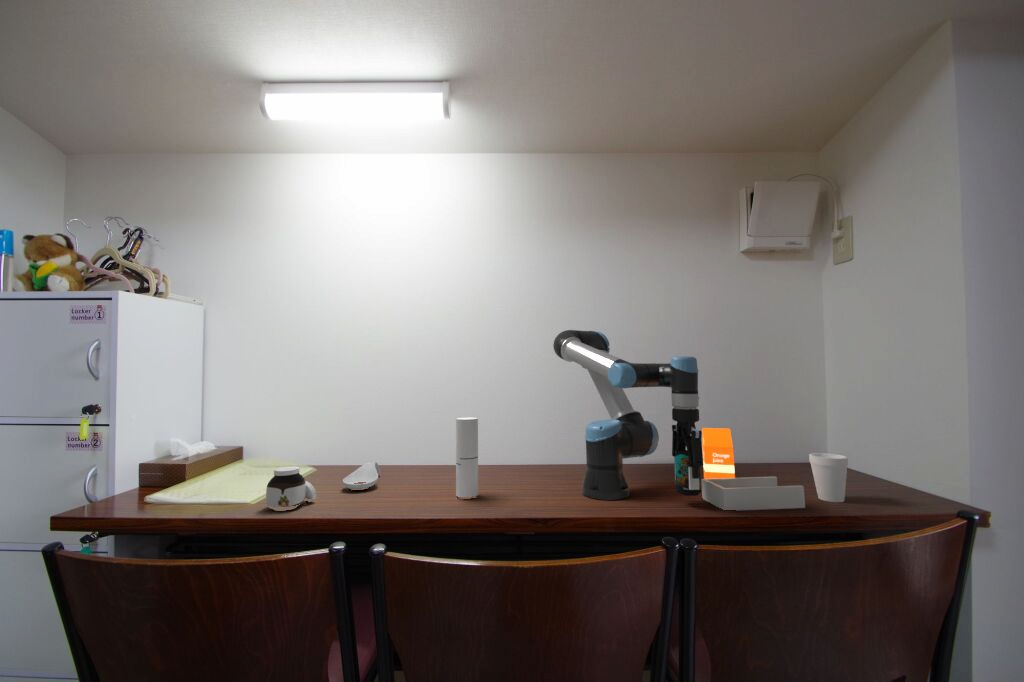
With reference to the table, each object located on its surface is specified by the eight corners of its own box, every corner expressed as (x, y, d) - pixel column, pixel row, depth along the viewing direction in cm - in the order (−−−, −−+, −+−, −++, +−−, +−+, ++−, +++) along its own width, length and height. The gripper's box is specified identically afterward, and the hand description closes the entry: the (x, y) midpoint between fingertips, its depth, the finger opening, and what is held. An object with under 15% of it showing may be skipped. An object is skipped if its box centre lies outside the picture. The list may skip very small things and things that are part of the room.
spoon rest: (372, 493, 141) (373, 472, 142) (337, 494, 140) (337, 473, 141) (389, 477, 165) (389, 458, 165) (359, 478, 164) (359, 459, 165)
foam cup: (841, 496, 131) (838, 453, 132) (857, 504, 122) (853, 459, 123) (806, 494, 133) (803, 452, 134) (819, 502, 124) (816, 458, 125)
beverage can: (691, 497, 119) (690, 455, 120) (670, 491, 125) (669, 451, 126) (705, 493, 123) (704, 452, 124) (684, 488, 129) (683, 448, 130)
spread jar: (261, 512, 122) (262, 471, 123) (282, 501, 133) (284, 463, 134) (302, 512, 122) (303, 471, 123) (320, 500, 133) (321, 463, 134)
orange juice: (704, 484, 147) (701, 426, 148) (732, 486, 144) (728, 427, 146) (706, 490, 139) (703, 429, 141) (736, 492, 136) (732, 430, 138)
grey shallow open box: (724, 510, 118) (723, 489, 118) (702, 498, 130) (701, 478, 130) (805, 507, 120) (803, 486, 120) (775, 496, 131) (774, 476, 132)
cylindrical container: (472, 500, 131) (472, 419, 133) (452, 498, 133) (452, 419, 135) (481, 494, 138) (481, 417, 140) (462, 492, 140) (461, 417, 142)
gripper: (715, 410, 116) (718, 495, 115) (681, 404, 136) (683, 476, 134) (689, 411, 116) (692, 496, 114) (659, 405, 135) (661, 477, 134)
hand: (687, 485), depth 124 cm, fingers closed on beverage can, 7 cm apart
